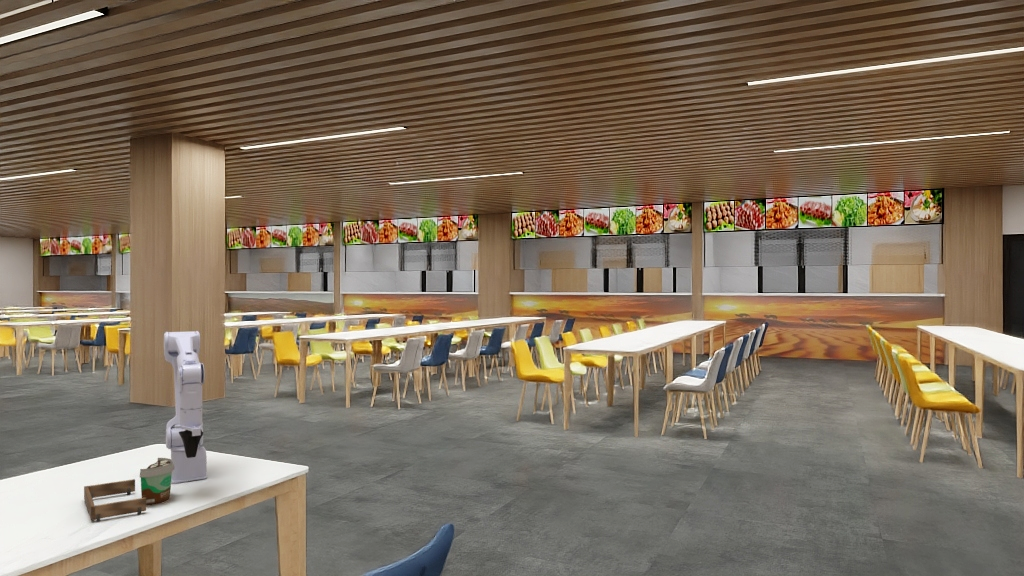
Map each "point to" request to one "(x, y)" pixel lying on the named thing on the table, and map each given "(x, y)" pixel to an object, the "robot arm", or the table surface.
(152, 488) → the food container
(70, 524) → the table surface
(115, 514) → the wooden u-shaped frame
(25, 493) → the table surface
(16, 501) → the table surface
